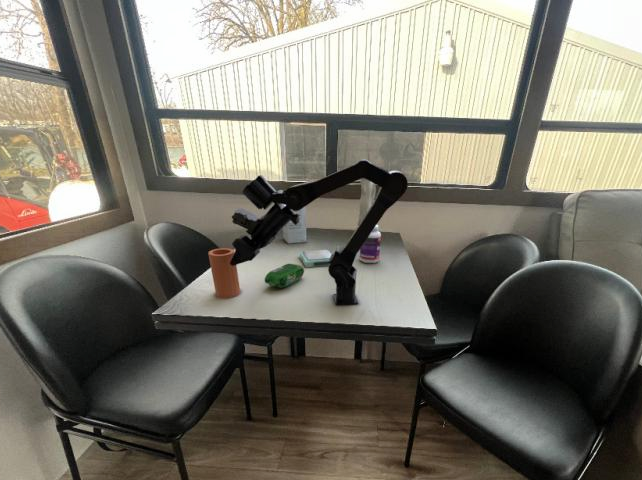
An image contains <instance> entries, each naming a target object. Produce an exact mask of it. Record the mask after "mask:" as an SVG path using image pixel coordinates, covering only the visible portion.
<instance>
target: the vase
mask: <svg viewBox="0 0 642 480" xmlns="http://www.w3.org/2000/svg"><path fill="white" fill-rule="evenodd" d="M360 185H361V186H360V187H361V195H360V198H359V204H358V205H359V206H358V207H359V209H358V210H359V211H358V212H359V213H358V221H357V226H358V225H359V224H360V222H361V221H362V219H363V218H364V216H365V215H366V213H367V212H368V210H369V208H370V207H371V205H372V204H373V202H374V201H375V198H376V194H377V193H376V192H377V187H376V186H377V185H376V184H374V183H372V182H370V181H369V180H367V179H365V178H362V179H360Z"/></svg>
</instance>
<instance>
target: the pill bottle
mask: <svg viewBox="0 0 642 480" xmlns="http://www.w3.org/2000/svg"><path fill="white" fill-rule="evenodd" d="M381 239H382V234H381V232H380V231H379V225H378V224H377V225H376V226H375V228H374V229H373V231H372V232H371V234H370V235H369V237H368V238H367V239H366V241H365V242H364V244H363V245H362V247H361V248H360V250H359V260H360V261H361V262H362V263H366V264H375V263H378V262H379V261H380V253H381Z"/></svg>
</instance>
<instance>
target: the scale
mask: <svg viewBox="0 0 642 480" xmlns="http://www.w3.org/2000/svg"><path fill="white" fill-rule="evenodd" d="M332 254H333V253H331V252H330V251H329V250H327V249H318V250H317V249H316V250H303V251H299V258H300V260H301V261H302V263H303V264H304V266H305V268H313V267H315V268H316V267H325V266H328V267H329V265H330V264H328V262H329V259H330V257H331V255H332Z"/></svg>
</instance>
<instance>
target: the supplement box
mask: <svg viewBox="0 0 642 480" xmlns="http://www.w3.org/2000/svg"><path fill="white" fill-rule="evenodd" d="M283 205H284V204H283ZM285 206H286V205H285ZM292 211H293V210H292ZM293 212H295V213H299V223H298V224H297V225H295V224H294V223H293V222H292V221H290V222H289V223H288V224H287V225H286V226H285V227H284V228H283V229H282V234H283V235H282V236H283V239H284V241H285V242H286V243H287V244H299V243H308V242H307V206H305V207H304V208H302V209H300V210H297V211H293Z"/></svg>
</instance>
